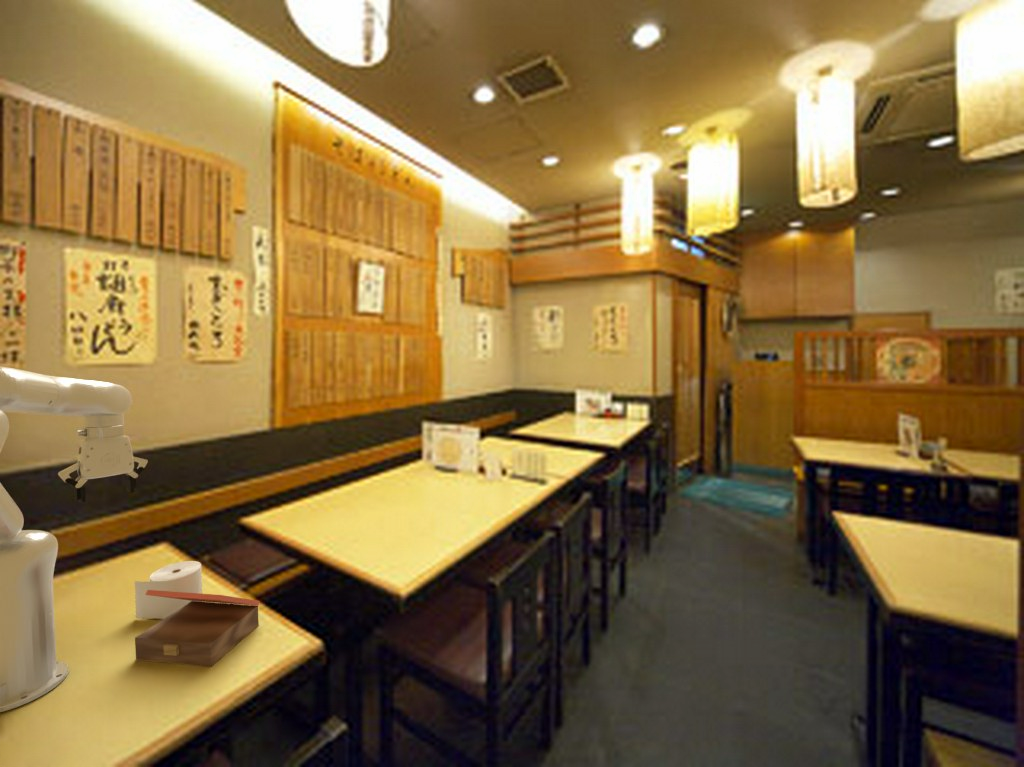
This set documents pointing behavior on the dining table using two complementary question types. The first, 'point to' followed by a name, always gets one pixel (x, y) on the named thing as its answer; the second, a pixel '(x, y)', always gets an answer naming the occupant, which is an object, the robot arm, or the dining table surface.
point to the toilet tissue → (167, 589)
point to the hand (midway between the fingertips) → (106, 497)
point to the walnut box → (197, 633)
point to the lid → (202, 597)
